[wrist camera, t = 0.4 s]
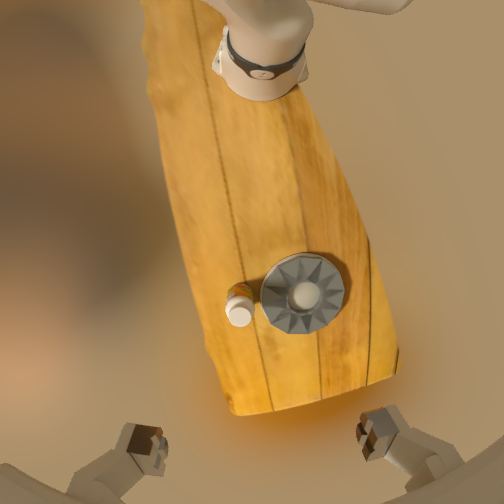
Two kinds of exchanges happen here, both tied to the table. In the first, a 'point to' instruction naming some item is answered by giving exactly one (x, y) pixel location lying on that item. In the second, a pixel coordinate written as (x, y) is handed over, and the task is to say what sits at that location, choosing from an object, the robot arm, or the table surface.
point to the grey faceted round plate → (302, 293)
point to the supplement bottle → (240, 305)
